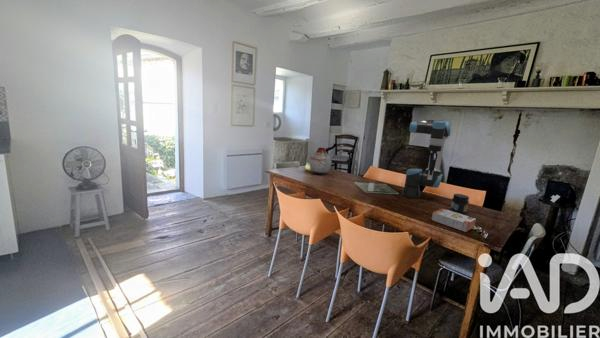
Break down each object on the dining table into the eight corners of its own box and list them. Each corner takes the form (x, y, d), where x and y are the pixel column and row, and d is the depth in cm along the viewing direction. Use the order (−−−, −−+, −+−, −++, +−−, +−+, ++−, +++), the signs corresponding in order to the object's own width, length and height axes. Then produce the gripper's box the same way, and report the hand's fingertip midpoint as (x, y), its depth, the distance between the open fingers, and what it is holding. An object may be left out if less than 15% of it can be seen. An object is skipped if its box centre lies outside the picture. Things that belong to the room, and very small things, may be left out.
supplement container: (469, 212, 190) (472, 197, 187) (461, 214, 185) (464, 198, 182) (455, 207, 199) (458, 192, 196) (446, 209, 194) (449, 194, 191)
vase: (319, 170, 297) (321, 146, 291) (335, 175, 280) (337, 149, 274) (304, 172, 282) (305, 146, 276) (319, 177, 265) (321, 150, 259)
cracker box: (441, 207, 178) (476, 218, 163) (440, 215, 180) (474, 227, 164) (432, 211, 169) (468, 223, 154) (430, 220, 171) (466, 232, 155)
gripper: (428, 143, 179) (422, 176, 185) (430, 145, 167) (424, 181, 173) (440, 144, 177) (434, 177, 182) (443, 146, 165) (436, 182, 170)
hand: (429, 179), depth 178 cm, fingers closed
